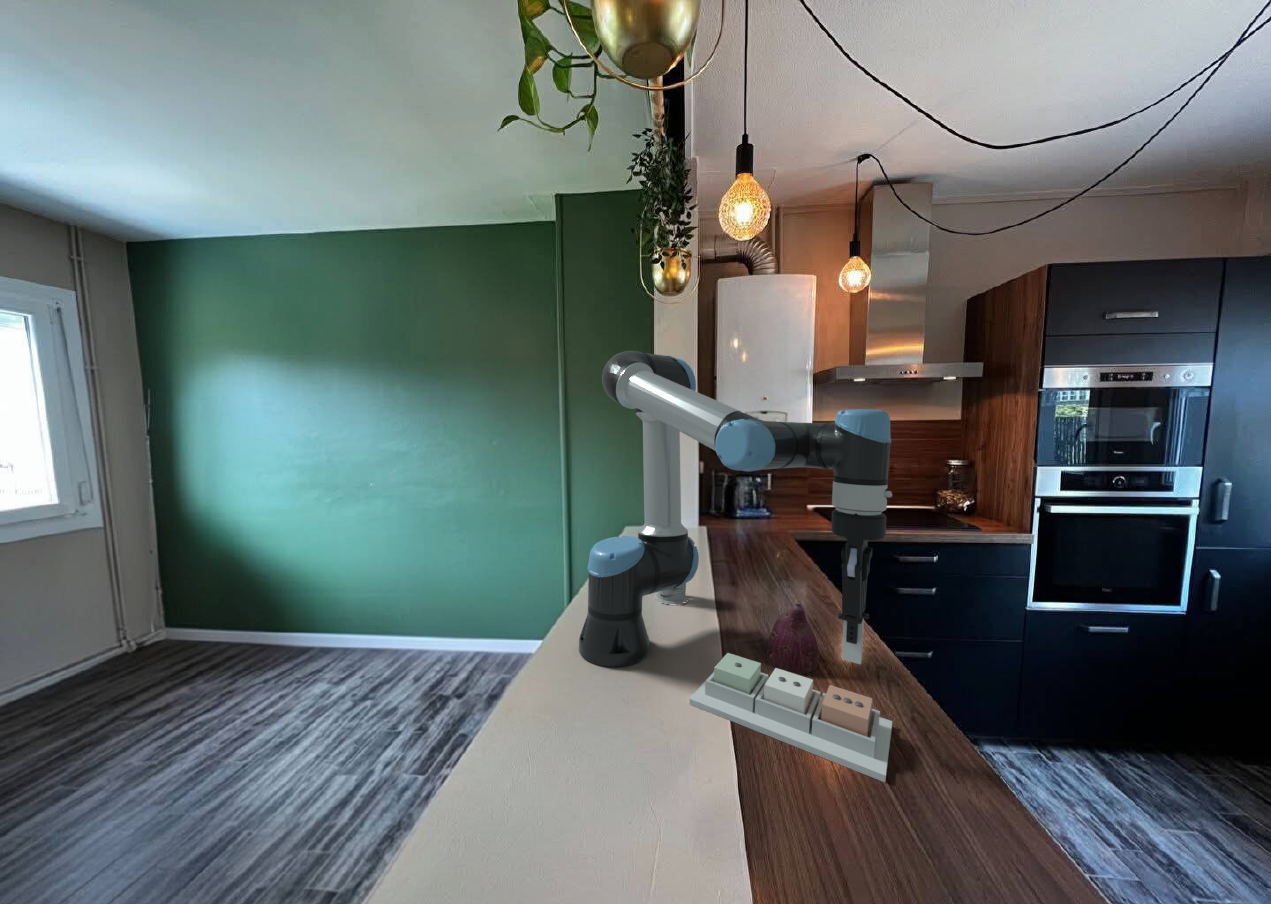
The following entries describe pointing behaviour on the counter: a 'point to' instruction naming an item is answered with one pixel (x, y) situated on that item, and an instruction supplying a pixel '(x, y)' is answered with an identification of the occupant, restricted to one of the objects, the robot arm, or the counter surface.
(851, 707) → the key three
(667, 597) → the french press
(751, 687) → the key one
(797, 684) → the key two
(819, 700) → the console
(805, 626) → the vegetable
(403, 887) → the counter surface
